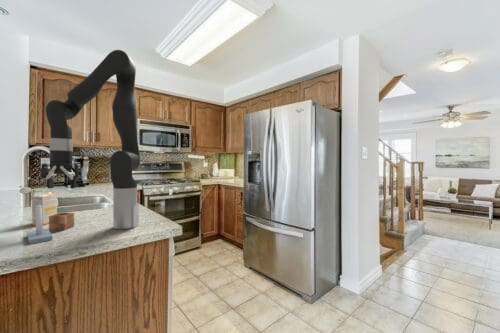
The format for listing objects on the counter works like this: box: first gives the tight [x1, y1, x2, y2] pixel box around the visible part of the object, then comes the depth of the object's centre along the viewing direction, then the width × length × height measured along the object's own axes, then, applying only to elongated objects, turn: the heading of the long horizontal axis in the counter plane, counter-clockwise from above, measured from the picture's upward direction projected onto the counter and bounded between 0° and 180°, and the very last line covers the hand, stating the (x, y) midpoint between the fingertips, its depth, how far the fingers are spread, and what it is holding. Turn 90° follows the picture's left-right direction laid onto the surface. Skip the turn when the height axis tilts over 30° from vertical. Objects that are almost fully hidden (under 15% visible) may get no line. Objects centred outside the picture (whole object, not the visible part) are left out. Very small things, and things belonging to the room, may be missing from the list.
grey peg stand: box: [26, 205, 53, 245], centre depth 84 cm, size 12×6×12 cm, turn 47°
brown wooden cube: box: [48, 212, 75, 232], centre depth 96 cm, size 6×6×6 cm
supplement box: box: [31, 192, 58, 227], centre depth 104 cm, size 8×5×13 cm, turn 5°
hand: (61, 188), depth 96 cm, fingers open, 8 cm apart
